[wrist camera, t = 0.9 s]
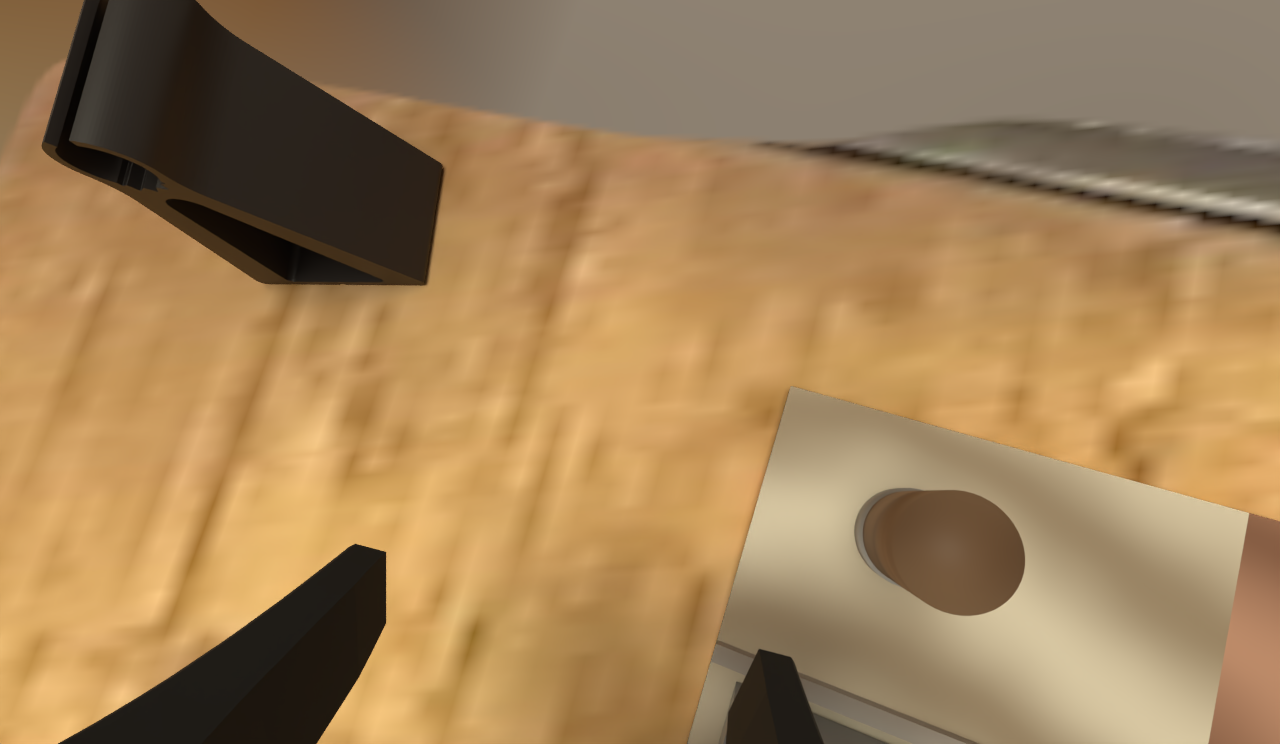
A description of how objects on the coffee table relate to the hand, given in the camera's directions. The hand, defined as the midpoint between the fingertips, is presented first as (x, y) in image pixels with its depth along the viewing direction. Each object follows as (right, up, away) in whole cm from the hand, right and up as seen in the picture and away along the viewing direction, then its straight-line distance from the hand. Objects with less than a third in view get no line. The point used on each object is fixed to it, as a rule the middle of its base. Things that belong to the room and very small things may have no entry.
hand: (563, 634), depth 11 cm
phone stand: (-13, +12, +18) cm, 25 cm away
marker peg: (+10, -1, +9) cm, 14 cm away
